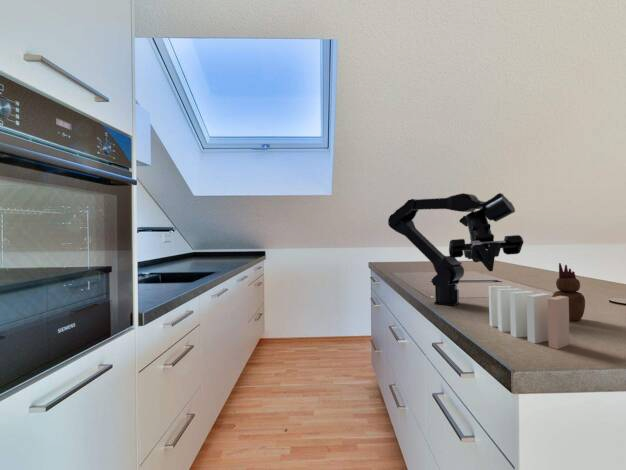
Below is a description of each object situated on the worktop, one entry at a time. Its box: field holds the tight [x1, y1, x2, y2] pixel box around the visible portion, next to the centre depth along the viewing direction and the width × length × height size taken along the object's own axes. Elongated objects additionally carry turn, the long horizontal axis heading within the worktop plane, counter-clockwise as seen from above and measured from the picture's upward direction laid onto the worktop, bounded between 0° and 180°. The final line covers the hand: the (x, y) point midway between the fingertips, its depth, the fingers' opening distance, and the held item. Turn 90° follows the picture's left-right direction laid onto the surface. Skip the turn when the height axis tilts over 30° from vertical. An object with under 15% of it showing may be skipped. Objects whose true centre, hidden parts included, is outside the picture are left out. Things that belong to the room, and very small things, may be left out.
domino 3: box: [510, 290, 536, 339], centre depth 74 cm, size 2×5×10 cm, turn 99°
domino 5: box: [548, 296, 571, 350], centre depth 67 cm, size 2×5×10 cm, turn 119°
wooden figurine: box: [551, 262, 586, 322], centre depth 86 cm, size 7×6×15 cm
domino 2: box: [497, 288, 523, 333], centre depth 78 cm, size 2×5×10 cm, turn 89°
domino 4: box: [526, 292, 551, 344], centre depth 70 cm, size 2×5×10 cm, turn 109°
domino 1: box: [488, 285, 514, 328], centre depth 82 cm, size 2×5×10 cm, turn 79°
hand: (491, 270), depth 89 cm, fingers closed
